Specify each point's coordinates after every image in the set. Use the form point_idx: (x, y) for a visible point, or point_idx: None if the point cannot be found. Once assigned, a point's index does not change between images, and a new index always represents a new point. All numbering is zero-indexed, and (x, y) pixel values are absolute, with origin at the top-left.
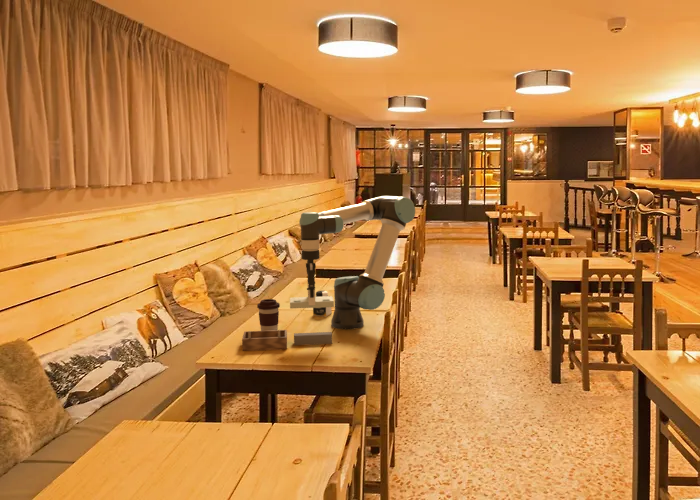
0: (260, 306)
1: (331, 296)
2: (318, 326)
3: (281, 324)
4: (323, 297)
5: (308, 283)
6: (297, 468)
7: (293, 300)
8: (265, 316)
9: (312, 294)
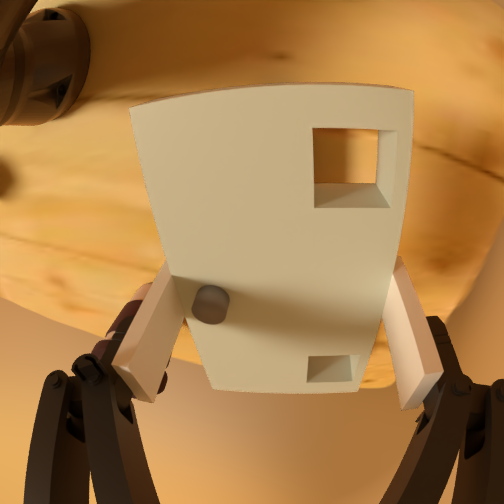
0: (161, 391)
1: (145, 112)
2: (62, 163)
3: (72, 270)
4: (199, 195)
5: (132, 404)
6: None
7: (301, 382)
8: (170, 355)
9: (446, 347)
